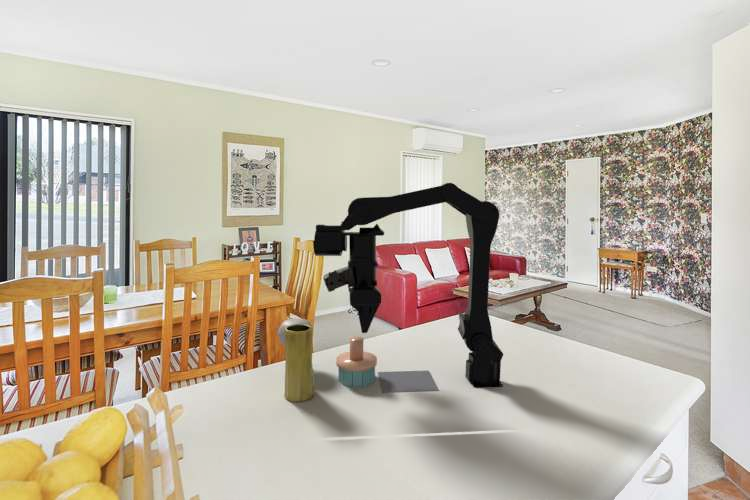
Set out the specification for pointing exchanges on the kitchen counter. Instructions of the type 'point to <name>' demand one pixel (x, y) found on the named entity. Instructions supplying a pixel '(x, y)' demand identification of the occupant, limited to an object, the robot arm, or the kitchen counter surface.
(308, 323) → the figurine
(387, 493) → the kitchen counter surface
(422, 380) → the mat
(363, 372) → the bowl
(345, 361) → the lid
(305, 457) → the kitchen counter surface
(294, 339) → the vase
